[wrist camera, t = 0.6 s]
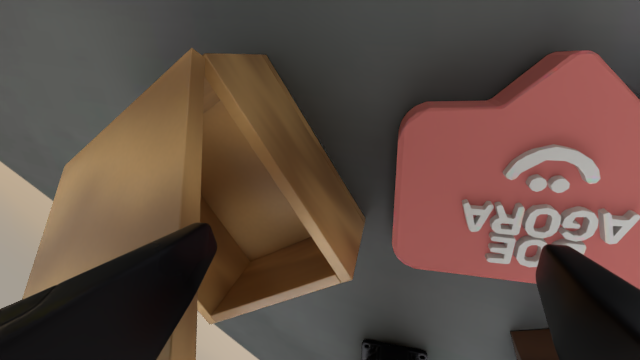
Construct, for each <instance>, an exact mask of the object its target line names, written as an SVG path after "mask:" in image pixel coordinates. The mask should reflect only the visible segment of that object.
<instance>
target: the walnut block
mask: <svg viewBox="0 0 640 360" xmlns="http://www.w3.org/2000/svg"><path fill="white" fill-rule="evenodd" d="M510 334H511V337H512V341H513V345H514V349H515V353H516V357H517V360H559V358H558V355H557V353H556V349H555V346H554V343H553V340H552V336H551V333H550V329H541V330H525V331H511V332H510Z"/></svg>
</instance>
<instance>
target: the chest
mask: <svg viewBox="0 0 640 360" xmlns="http://www.w3.org/2000/svg"><path fill="white" fill-rule="evenodd" d="M202 56H203V57H204V58H205V74H204V106H203V138H202V171H201V203H200V223H207V224H209V225H210V226H211V229H212V231H213V234H214V237H215V239H216V242H217V251H216V254H215V256H214V258H213V260H212V262H211V264H210V266H209V268H208V270H207V272H206V274H205V276H204V278H203V280H202V282H201V285H200V287H199V289H198V300H197V310H198V311H199V312H200V313H201V315H202V316H203V317H204V318H205V319H206V321H207V322H208V323H209V324H213V323H216V322H220V321H223V320H226V319H229V318H232V317H235V316H239V315H242V314H245V313H248V312H251V311H254V310H258V309H261V308H264V307H267V306H270V305H273V304H277V303H280V302H283V301H286V300H289V299H292V298H296V297H299V296H302V295H305V294H308V293H311V292H315V291H318V290H321V289H324V288H327V287H330V286H334V285H337V284H340V283H341V282H342V283H344V282H347V281H350V280H352V279H353V274H354V270H355V265H356V261H357V256H358V251H359V247H360V242H361V238H362V233H363V228H364V223H365V217H364V215H363V214H362V212H361V210H360V209H359V207H358V205H357V204H356V202H355V201H354V199H353V197H352V196H351V194H350V192H349V191H348V189H347V187H346V186H345V184H344V182H343V181H342V179H341V177H340V176H339V174H338V172H337V171H336V169H335V168H334V166H333V164H332V163H331V161H330V159H329V158H328V156H327V154H326V153H325V151H324V149H323V148H322V146H321V144H320V143H319V141H318V139H317V138H316V136H315V135H314V133H313V131H312V130H311V128H310V126H309V125H308V123H307V121H306V120H305V118H304V116H303V115H302V113H301V111H300V110H299V108H298V106H297V105H296V103H295V101H294V100H293V98H292V97H291V95H290V93H289V92H288V90H287V88H286V87H285V85H284V83H283V82H282V80H281V78H280V77H279V75H278V73H277V72H276V70H275V68H274V67H273V65H272V64H271V62H270V60H269V59H268V57H267V55H260V54H216V53H204V54H203V55H202Z"/></svg>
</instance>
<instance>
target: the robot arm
mask: <svg viewBox="0 0 640 360" xmlns="http://www.w3.org/2000/svg"><path fill="white" fill-rule="evenodd" d="M216 251H217V242H216V239H215V237H214V234H213V231H212V229H211V226H210V225H209V224H207V223H199V222H196V223H193V224H191V225H188V226H186V227H184V228H182V229H179V230H177V231H175V232H173V233H171V234H168V235H166V236H164V237H162V238H159V239H157V240H155V241H153V242H150V243H148V244H146V245H144V246H141V247H139V248H137V249H135V250H133V251H130V252H128V253H126V254H124V255H121V256H119V257H117V258H115V259H112V260H110V261H108V262H106V263H103V264H101V265H99V266H97V267H94V268H92V269H90V270H88V271H86V272H83V273H81V274H79V275H77V276H74V277H72V278H70V279H68V280H65V281H63V282H61V283H59V284H58V285H54V286H52V287H50V288H47V289H45V290H43V291H41V292H38V293H36V294H34V295H32V296H29V297H27V298H25V299H22V300H20V301H18V302H16V303H14V304H11V305H9V306H6V307H4V308H1V309H0V360H157V358H158V356H159V355H160V353H161V351H162V350H163V348H164V346H165V345H166V343H167V341H168V340H169V338H170V336H171V335H172V333H173V331H174V330H175V328H176V327H177V325H178V323H179V322H180V320H181V318H182V317H183V315H184V313H185V312H186V310H187V308H188V307H189V305H190V303H191V302H192V300H193V298H194V296H195V294H196V293H197V291H198V289H199V287H200V285H201V282H202V280H203V278H204V276H205V274H206V272H207V270H208V268H209V266H210V264H211V262H212V260H213V258H214V256H215V254H216ZM535 276H536V283H537V287H538V291H539V294H540V298H541V301H542V305H543V308H544V312H545V315H546V319H547V322H548V326H549V329H550V333H551V336H552V340H553V343H554V346H555V349H556V353H557V355H558V358H559V360H640V289H638V288H637V287H635V286H634V285H632V284H630V283H629V282H627V281H625V280H624V279H622V278H621V277H619V276H617V275H616V274H614V273H612V272H611V271H609V270H608V269H606V268H604V267H603V266H601V265H599V264H598V263H596V262H595V261H593V260H591V259H590V258H588V257H586V256H585V255H583V254H582V253H580V252H578V251H577V250H575V249H573V248H572V247H570V246H567V245H556V244H546V245H544V246H543V248H542V250H541V254H540V258H539V262H538V265H537V269H536V275H535ZM427 359H428V358H427V353H426V352H425V351H423V350H418V349H413V348H408V347H403V346H397V345H392V344H387V343H382V342H377V341H371V340H363V342H362V360H427Z"/></svg>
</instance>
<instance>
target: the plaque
mask: <svg viewBox="0 0 640 360" xmlns="http://www.w3.org/2000/svg"><path fill="white" fill-rule="evenodd" d="M546 244H556V245H567V246H570V247H572V248H573V249H575V250H577V251H578V252H580V253H582V254H583V255H585V256H586V257H588V258H590V259H591V260H593V261H595V262H596V263H598V264H599V265H601V266H603V267H604V268H606V269H608V270H609V271H611V272H612V273H614V274H616V275H617V276H619V277H621V278H622V279H624V280H625V281H627V282H629V283H630V284H632V285H634V286H635V287H637V288H638V289H640V99H638V98H637V96H636V95H635V94H634V93H633V92H632V91H631V90H630V89H629V88H628V87H627V86H626V84H625V83H624V82H623V81H622V80H621V79H620V78H619V77H618V76H617V75H616V74H615V73H614V71H613V70H612V69H611V68H610V67H609V66H608V65H607V64H606V63H605V62H604V61H603V59H602V58H601V57H600V56H599V55H598V54H597V53H594V52H592V51H590V50H584V51H560V52H553V53H551V54H549V55H547V56H545V57H544V58H543V59H542V60H540V61H539V62H538V63H536V64H535V65H534V66H533V67H531V68H530V69H529V70H527V71H526V72H525V73H524V74H522V75H521V76H520V77H518V78H517V79H516V80H515V81H513V82H512V83H511V84H510V85H508V86H507V87H506V88H504V89H503V90H502V91H501V92H499V93H498V94H497V95H495V96H494V97H493V98H491V99H489V100H486V101H426V102H424V103H422V104H419V105H417V106H415V107H413V108H412V109H411V110H410V111H408V112H407V114H406V115H405V117H404V118H403V119H402V121H401V124H400V128H399V131H398V149H397V167H396V184H395V201H394V217H393V234H392V246H393V250H394V253H395V254H396V256H397V258H398V259H399V260H400V261H401V262H402V263H404V264H406V265H408V266H410V267H412V268H415V269H422V270H430V271H439V272H447V273H455V274H463V275H471V276H479V277H487V278H495V279H503V280H511V281H519V282H527V283H535V284H537V283H536V276H535V275H536V269H537V265H538V262H539V258H540V254H541V250H542V248H543V246H544V245H546Z"/></svg>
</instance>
